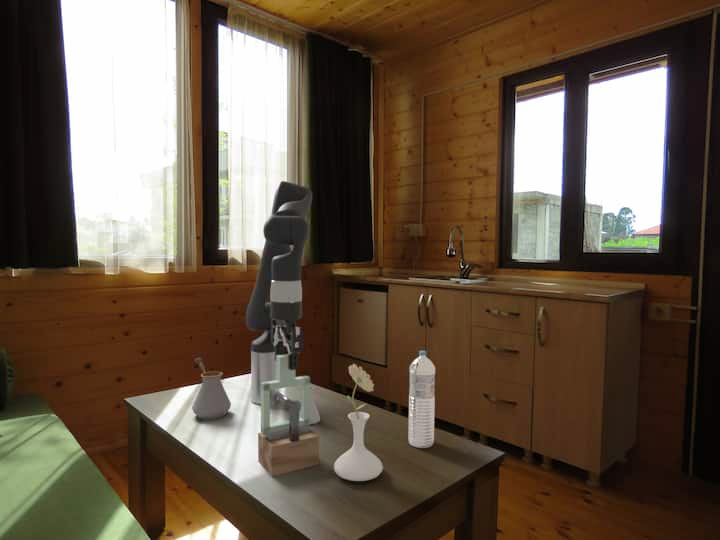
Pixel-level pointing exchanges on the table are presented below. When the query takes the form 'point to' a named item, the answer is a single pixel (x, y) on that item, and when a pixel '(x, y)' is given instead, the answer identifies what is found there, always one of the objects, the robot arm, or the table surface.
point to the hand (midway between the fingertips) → (286, 365)
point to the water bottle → (421, 402)
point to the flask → (312, 409)
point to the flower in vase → (358, 439)
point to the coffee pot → (211, 396)
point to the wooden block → (288, 453)
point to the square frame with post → (284, 380)
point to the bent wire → (290, 415)
